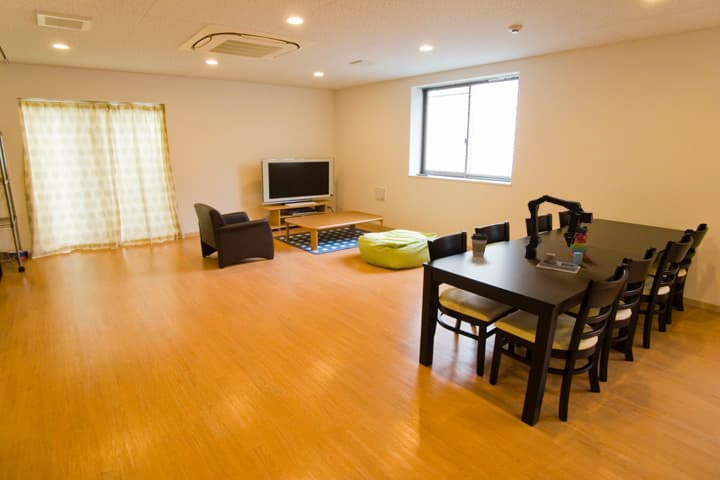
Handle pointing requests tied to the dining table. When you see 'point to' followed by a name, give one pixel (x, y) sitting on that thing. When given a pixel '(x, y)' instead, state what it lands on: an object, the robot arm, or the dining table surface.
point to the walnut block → (550, 258)
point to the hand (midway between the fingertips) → (570, 245)
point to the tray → (560, 266)
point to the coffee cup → (479, 244)
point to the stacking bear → (580, 245)
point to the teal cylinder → (577, 258)
